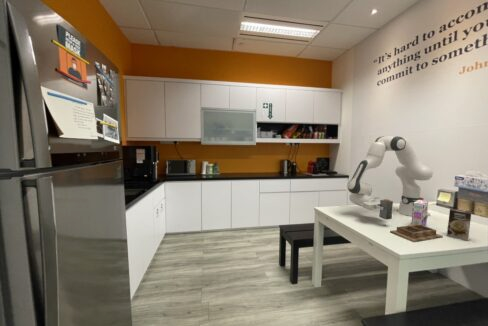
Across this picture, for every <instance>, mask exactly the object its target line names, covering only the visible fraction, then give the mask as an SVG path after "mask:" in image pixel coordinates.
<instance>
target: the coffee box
mask: <svg viewBox="0 0 488 326" xmlns="http://www.w3.org/2000/svg"><path fill="white" fill-rule="evenodd" d="M471 221H472V211H469V210H468V211H467V210H463V209H457V208H449V215H448V222H447V223H448V225H447V231H446V237H449V238H450V237H451V238H455V239H459V240H464V241H469V236H470V228H471Z"/></svg>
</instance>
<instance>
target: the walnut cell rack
mask: <svg viewBox="0 0 488 326" xmlns="http://www.w3.org/2000/svg"><path fill="white" fill-rule="evenodd" d="M389 232H390V233H391V234H393V235H395V236H398V237H400V238H403V239H405V240H407V241H409V242H413V243H419V242H423V241H429V240H436V239H441V238H444V237H443V236H444V235H442V234H439V233H437V229H435V228H431V227H429V226H426V225H425V226H423V225H420V224H416V225H411V224H409V225H402V226H397V227H396V229H394V230H393V229H392V230H390V231H389Z"/></svg>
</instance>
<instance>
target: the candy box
mask: <svg viewBox="0 0 488 326" xmlns="http://www.w3.org/2000/svg"><path fill="white" fill-rule="evenodd" d="M428 209H429V201H427V200H418V201H416V202H414V203H413V212H412V216H411V224H410V225H416V224H420V225H423V226H426V225H427V221H428V216H427V213H429V212H428V211H429V210H428Z"/></svg>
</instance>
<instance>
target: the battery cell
mask: <svg viewBox="0 0 488 326" xmlns="http://www.w3.org/2000/svg"><path fill="white" fill-rule="evenodd" d="M380 206H381V207H384V210H381V209H379V214H378V215H379V218H380V219H383V220H387V221H388V220H392V219H393V206H394V201H393V200H390V199H388V198H384V199H382V200H380Z"/></svg>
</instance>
